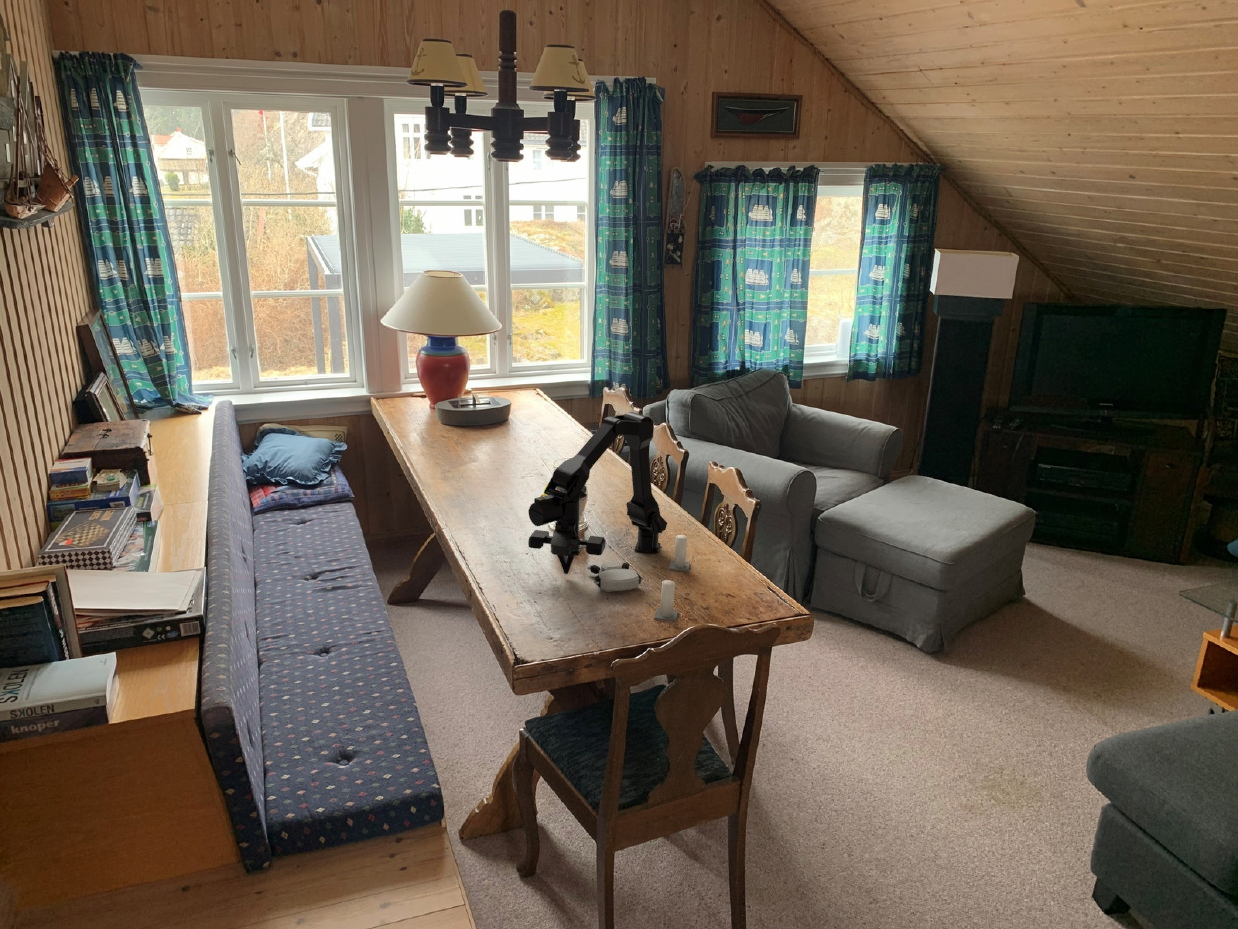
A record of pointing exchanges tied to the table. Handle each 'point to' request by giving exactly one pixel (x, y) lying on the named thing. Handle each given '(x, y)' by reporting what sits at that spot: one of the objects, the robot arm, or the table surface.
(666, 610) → the pair of white pegs
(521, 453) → the table surface
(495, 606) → the table surface
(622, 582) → the robot toy
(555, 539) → the robot arm
